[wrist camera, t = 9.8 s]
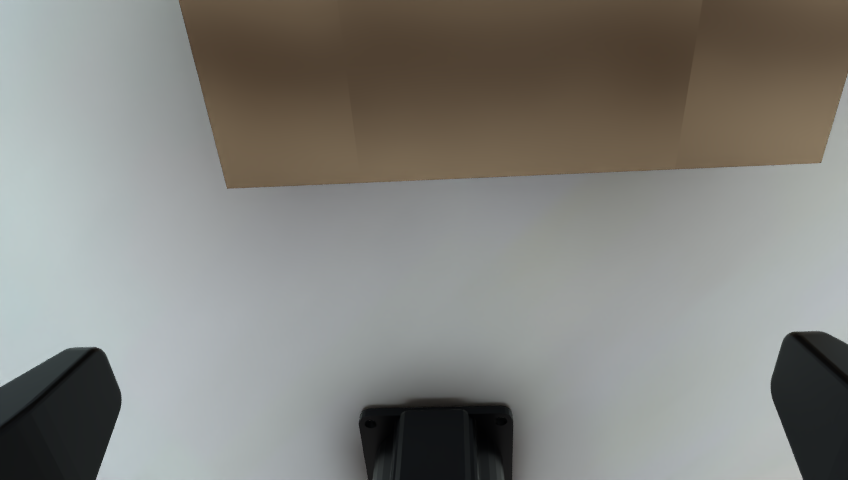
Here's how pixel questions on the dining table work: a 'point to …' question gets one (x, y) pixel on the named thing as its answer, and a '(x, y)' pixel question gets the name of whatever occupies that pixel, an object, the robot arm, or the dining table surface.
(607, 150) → the brown wooden frame
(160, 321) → the dining table surface
